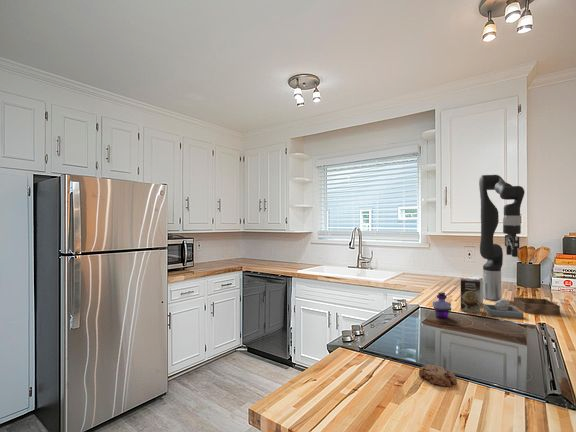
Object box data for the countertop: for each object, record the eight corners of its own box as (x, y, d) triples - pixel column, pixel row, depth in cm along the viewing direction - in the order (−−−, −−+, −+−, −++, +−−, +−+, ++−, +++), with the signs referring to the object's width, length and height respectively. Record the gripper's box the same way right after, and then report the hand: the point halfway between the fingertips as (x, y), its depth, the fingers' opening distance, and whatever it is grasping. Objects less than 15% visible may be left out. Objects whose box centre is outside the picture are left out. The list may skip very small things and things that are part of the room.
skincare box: (472, 301, 188) (471, 276, 188) (483, 303, 183) (483, 277, 183) (466, 303, 182) (465, 277, 183) (477, 305, 178) (477, 279, 178)
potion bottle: (454, 320, 152) (453, 294, 152) (434, 319, 154) (434, 294, 154) (448, 315, 160) (448, 291, 161) (430, 314, 162) (430, 290, 162)
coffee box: (460, 311, 168) (460, 280, 168) (460, 308, 173) (460, 278, 174) (480, 313, 163) (480, 281, 164) (480, 310, 169) (479, 279, 170)
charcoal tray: (491, 316, 158) (491, 311, 158) (483, 309, 171) (483, 304, 171) (523, 318, 154) (523, 313, 154) (513, 311, 167) (512, 306, 167)
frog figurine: (504, 314, 158) (503, 300, 158) (491, 311, 165) (491, 297, 165) (513, 313, 160) (513, 299, 160) (500, 310, 166) (500, 296, 167)
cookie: (424, 368, 103) (424, 358, 103) (461, 378, 96) (460, 368, 96) (413, 380, 95) (413, 369, 95) (452, 392, 88) (452, 381, 88)
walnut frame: (524, 312, 164) (524, 303, 164) (513, 305, 178) (513, 297, 178) (560, 314, 160) (559, 305, 160) (546, 307, 174) (545, 299, 174)
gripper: (499, 224, 174) (499, 254, 174) (507, 224, 160) (507, 257, 160) (515, 224, 171) (515, 254, 171) (525, 224, 158) (525, 257, 158)
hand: (511, 255), depth 166 cm, fingers open, 8 cm apart
